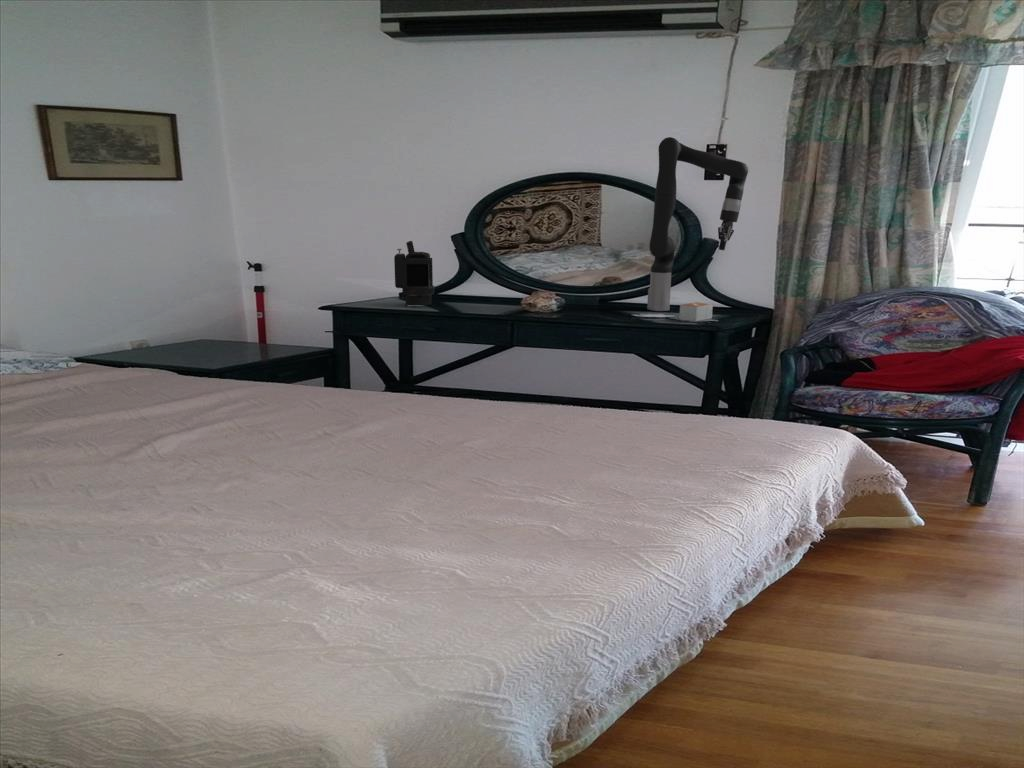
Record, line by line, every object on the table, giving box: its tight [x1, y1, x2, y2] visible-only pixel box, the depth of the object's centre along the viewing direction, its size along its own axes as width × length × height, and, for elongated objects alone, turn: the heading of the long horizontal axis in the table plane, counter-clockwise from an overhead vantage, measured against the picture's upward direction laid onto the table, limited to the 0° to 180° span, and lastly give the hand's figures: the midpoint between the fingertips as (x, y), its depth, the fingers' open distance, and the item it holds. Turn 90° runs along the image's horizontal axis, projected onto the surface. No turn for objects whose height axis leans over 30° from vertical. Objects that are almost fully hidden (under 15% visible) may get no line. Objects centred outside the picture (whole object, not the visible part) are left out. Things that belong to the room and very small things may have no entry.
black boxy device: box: [393, 240, 435, 305], centre depth 349 cm, size 15×18×30 cm
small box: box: [678, 301, 713, 321], centre depth 310 cm, size 8×6×13 cm
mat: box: [675, 315, 719, 323], centre depth 311 cm, size 18×12×1 cm
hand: (721, 249), depth 326 cm, fingers closed
